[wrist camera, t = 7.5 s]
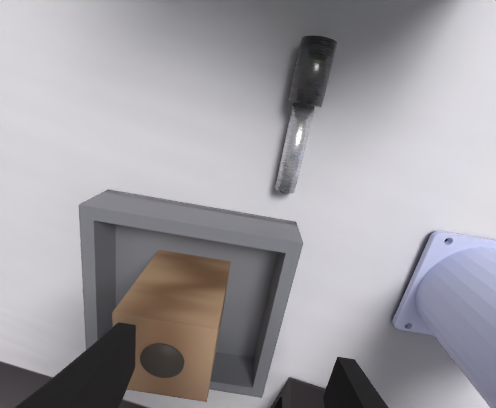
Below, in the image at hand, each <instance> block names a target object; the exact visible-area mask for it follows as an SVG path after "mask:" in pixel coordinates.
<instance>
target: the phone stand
mask: <svg viewBox="0 0 496 408" xmlns="http://www.w3.org/2000/svg"><path fill="white" fill-rule="evenodd" d="M325 391H326V389H323V388H320V387H317V386H314V385H311V384H308V383H305V382H302V381H299V380H296V379H293V378H289V379H288V381H287V382H286V384H285V385H284V387H283V389H282V390H281V392H280V393H279V395H278V397H277V398H276V400H275V401H274V403H273V405H272V406H271V408H324V399H323V396H324V393H325Z"/></svg>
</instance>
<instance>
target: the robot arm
mask: <svg viewBox="0 0 496 408" xmlns="http://www.w3.org/2000/svg"><path fill="white" fill-rule="evenodd" d="M447 238H449V239H448V240H447V241H446V242H444V241H445V239H447ZM392 323H393V325H394V327H395V328H396V329H398V330H404V331H410V332H416V333H422V334H428V335H434V336H435V337H436V339H437V340H438V341H439V342H440V344H441V345H442V346H443V347H444V349H445V350H446V351H447V353H448V354H449V355H450V356H451V358H452V359H453V360H454V362H455V363H456V364H457V365H458V367H459V368H460V369H461V371H462V372H463V373H464V374H465V376H466V377H467V378H468V380H469V381H470V382H471V383H472V385H473V386H474V387H475V389H476V390H477V391H478V392H479V394H480V395H481V396H482V398H483V399H484V400H485V401H486V403H487V404H488V405H489V407H490V408H496V240H491V239H485V238H479V237H474V236H468V235H462V234H456V233H450V232H445V231H435V232H434V233H432V234H431V236H430V237H429V240H428V242H427V244H426V246H425V249H424V251H423V253H422V255H421V258H420V260H419V262H418V264H417V267H416V269H415V271H414V274H413V276H412V278H411V280H410V283H409V285H408V287H407V289H406V292H405V294H404V296H403V298H402V301H401V303H400V305H399V307H398V310H397V312H396V314H395V316H394V319H393V322H392ZM407 323H408V324H407ZM406 324H407V325H406ZM135 351H136V325H133V324H127V323H120V322H118V323H117V324H115V325H114V326H113V327H112V328H111V329H110V330H109V331H108V332H106V333H105V334H104V335H103V336H102V337H101V338H100V339H98V340H97V341H96V342H95V343H94V344H93V345H92V346H90V347H89V348H88V349H87V350H86V351H85V352H83V353H82V354H81V355H80V356H79V357H78V358H76V359H75V360H74V361H73V362H72V363H70V364H69V365H68V366H67V367H66V368H64V369H63V370H62V371H61V372H60V373H58V374H57V375H56V376H55V377H53V378H52V379H51V380H50V381H48V382H47V383H46V384H45V385H43V386H42V387H41V388H39V389H38V390H37V391H36V392H34V393H33V394H32V395H30V396H29V397H28V398H26V399H25V400H24V401H23V402H21V403H20V404H19V405H17V406H16V407H15V408H118V407H119V405H120V403H121V401H122V399H123V396H124V394H125V392H126V389H127V387H128V384H129V382H130V379H131V377H132V374H133V372H134V369H135ZM323 399H324V408H388V407H387V405H386V404H385V402H384V401H383V400H382V398H381V397H380V395H379V394H378V392H377V391H376V390H375V388H374V387H373V385H372V384H371V382H370V381H369V379H368V378H367V377H366V375H365V374H364V372H363V371H362V369H361V368H360V367H359V365H358V364H357V362H356V361H355V360H354V359H348V358H341V357H337V360H336V363H335V365H334V368H333V371H332V374H331V377H330V379H329V382H328V385H327V388H326V391H325V393H324V396H323Z"/></svg>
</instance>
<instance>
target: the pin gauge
mask: <svg viewBox="0 0 496 408" xmlns="http://www.w3.org/2000/svg"><path fill="white" fill-rule="evenodd" d="M336 45H337V42H336V41H334V40H332V39H330V38H326V37H322V36H304V37H302V38H301V42H300V47H299V52H298V57H297V61H296V66H295V71H294V76H293V81H292V86H291V91H290V96H289V101H288V102H292V103H293V105H292V110H291V115H290V120H289V125H288V129H287V134H286V139H285V144H284V148H283V153H282V158H281V163H280V167H279V172H278V177H277V182H276V186H275V189H276V190H278V191H281V192H285V193H294V191H295V187H296V183H297V179H298V175H299V170H300V166H301V162H302V158H303V153H304V149H305V145H306V141H307V137H308V132H309V128H310V124H311V120H312V115H313V111H314V107H322V102H323V98H324V94H325V90H326V86H327V82H328V78H329V74H330V70H331V66H332V62H333V58H334V53H335V49H336Z"/></svg>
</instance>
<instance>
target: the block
mask: <svg viewBox="0 0 496 408" xmlns="http://www.w3.org/2000/svg"><path fill="white" fill-rule="evenodd" d="M230 264H231V261H226V260H219V259H213V258H207V257H201V256H195V255H189V254H182V253H176V252H170V251H164V250H158V251H157V253H156V254H155V255H154V257H153V258H152V260H151V261H150V262H149V264H148V265H147V266H146V268H145V269H144V270H143V272H142V273H141V274H140V276H139V277H138V279H137V280H136V281H135V283H134V284H133V285H132V287H131V288H130V289H129V291H128V292H127V293H126V295H125V296H124V298H123V299H122V300H121V302H120V303H119V304H118V306H117V307H116V308H115V310H114V311H113V312H112V324H113V326H114V325H115V324H117V323H118V322H120V323H127V324H133V325H136V351H135V369H134V372H133V374H132V377H131V379H130V382H129V384H128V387H127V390H134V391H140V392H147V393H153V394H160V395H166V396H172V397H179V398H185V399H192V400H198V401H205V402H207V397H208V391H209V386H210V381H211V375H212V370H213V364H214V359H215V353H216V348H217V343H218V337H219V332H220V326H221V321H222V315H223V309H224V302H225V296H226V290H227V283H228V277H229V271H230Z"/></svg>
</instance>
